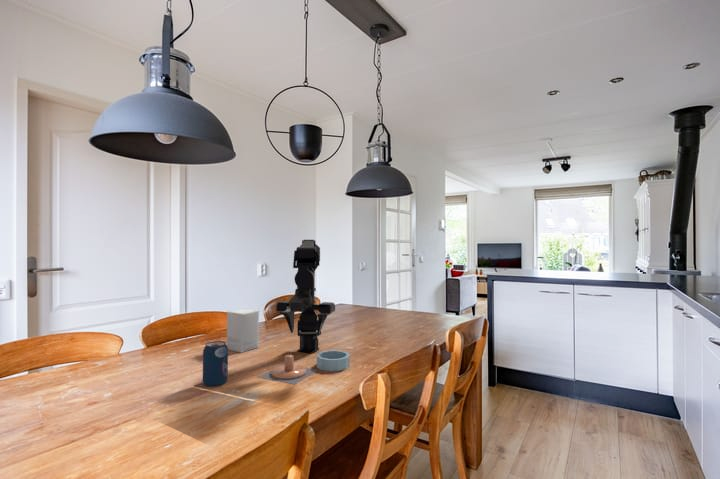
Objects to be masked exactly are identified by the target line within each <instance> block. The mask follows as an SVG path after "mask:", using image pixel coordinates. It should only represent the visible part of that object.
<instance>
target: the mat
mask: <svg viewBox="0 0 720 479" xmlns="http://www.w3.org/2000/svg"><path fill="white" fill-rule="evenodd" d="M283 365H285V363H283V364H280V366H283ZM305 368H306V374H305V375H304V376H302V377H300V378H296V379H288V380H283V379H276V378H274V377H272V376H271V371H272V369H271V370H269V371H267V372H264V373H262V374H261V375H258V376H257V378H258V379H259V378H260V379H262V380H269V381H274V382H280V383H285V384H290V385H296V384H298V383H301V381H303V380H305V379H307V378H308V377H310V376H312V375H314V374H315V373H316V372H319V370H320V369H316V368H308V367H305Z"/></svg>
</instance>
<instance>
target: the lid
mask: <svg viewBox="0 0 720 479" xmlns="http://www.w3.org/2000/svg"><path fill="white" fill-rule="evenodd" d="M284 364H285V365H283V364H282V365H283V366H281V365H279V366H276V367H273V368H272V369H271V370H272V371H271V376H272V377H274V378H276V379H283V380H288V379H296V378H300V377H302V376H304V375H305V374H306V368H307V367H305V366H303V365H300V364H294V355H293V354H287V355H284Z"/></svg>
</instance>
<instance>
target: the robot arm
mask: <svg viewBox="0 0 720 479" xmlns="http://www.w3.org/2000/svg"><path fill="white" fill-rule="evenodd" d="M320 262H321V247H320V246H319V245H318V244H316V240H315V239H302V240H301V244H300V246H297V247H296V249H295V250H294V252H293V263H292V265H293V266H292V268H293V269H297V272H296V273H295V275H294V283H295V285H296V288H294V289H295V291H294V295H293V296H292V297H291V298H290V299H289V300H281V301H278V302H276V305H275V312H279V315H282V316H283V317H284V319H285V320H286V322H287V326H288V328H289V331H290V333H291V334H292V333H294V330H295V312H299V313H300V315H299V319H298V320H297V323H296V324H297V325H296V326H297V337H299V349H297V350H296V351H297V352H301V353H307V354H313V353H314V352H317V351H319V350H320V347H319V338H318V337H319V336H321V335H322V329H323V326H324V323H325V322H326V319H327V317H328V316H330V315H331V314H332V313H334V312H335V311H336V304H335V303H334V302H328V301H327V302H326V301H323V302H321V303H319V304H317V303H316V300H315V292H316V291H317V290H316V286H315V283H316V280H315V278H316V277H315V275H316V272H315V271H316V270H317V269H318V267H320ZM316 311H318V312H319V313H317V312H316Z"/></svg>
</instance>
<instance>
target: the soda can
mask: <svg viewBox="0 0 720 479" xmlns="http://www.w3.org/2000/svg"><path fill="white" fill-rule="evenodd" d="M228 371H229V350H228V347H227V341H223V340H217V341H215V340H214V341H209V342H205V345H204V348H203V350H202V384H203V385H204V386H206V387H219V386H223V385H224V384H226V383H227V381H228V379H229V378H228V376H229V374H228V373H229V372H228Z"/></svg>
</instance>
